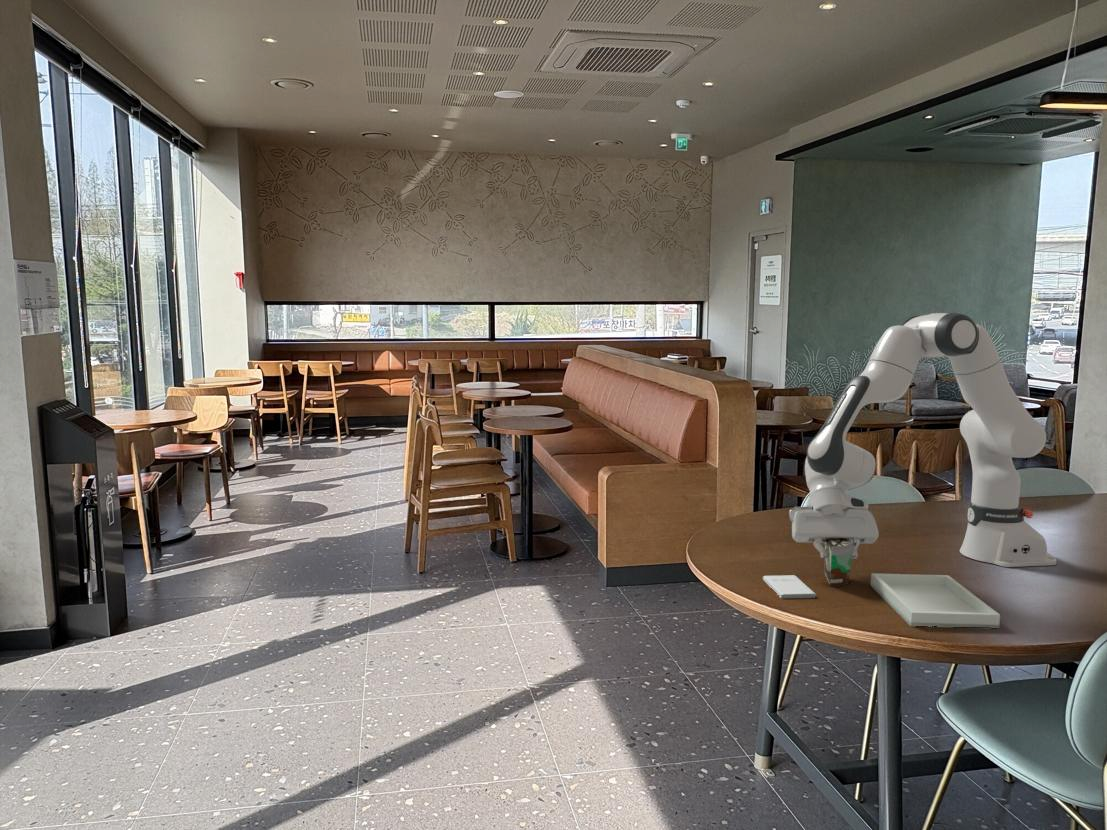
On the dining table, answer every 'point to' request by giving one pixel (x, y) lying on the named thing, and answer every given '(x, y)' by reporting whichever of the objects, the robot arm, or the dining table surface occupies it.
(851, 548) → the food container
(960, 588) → the tray
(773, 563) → the dining table surface
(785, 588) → the external hard drive
